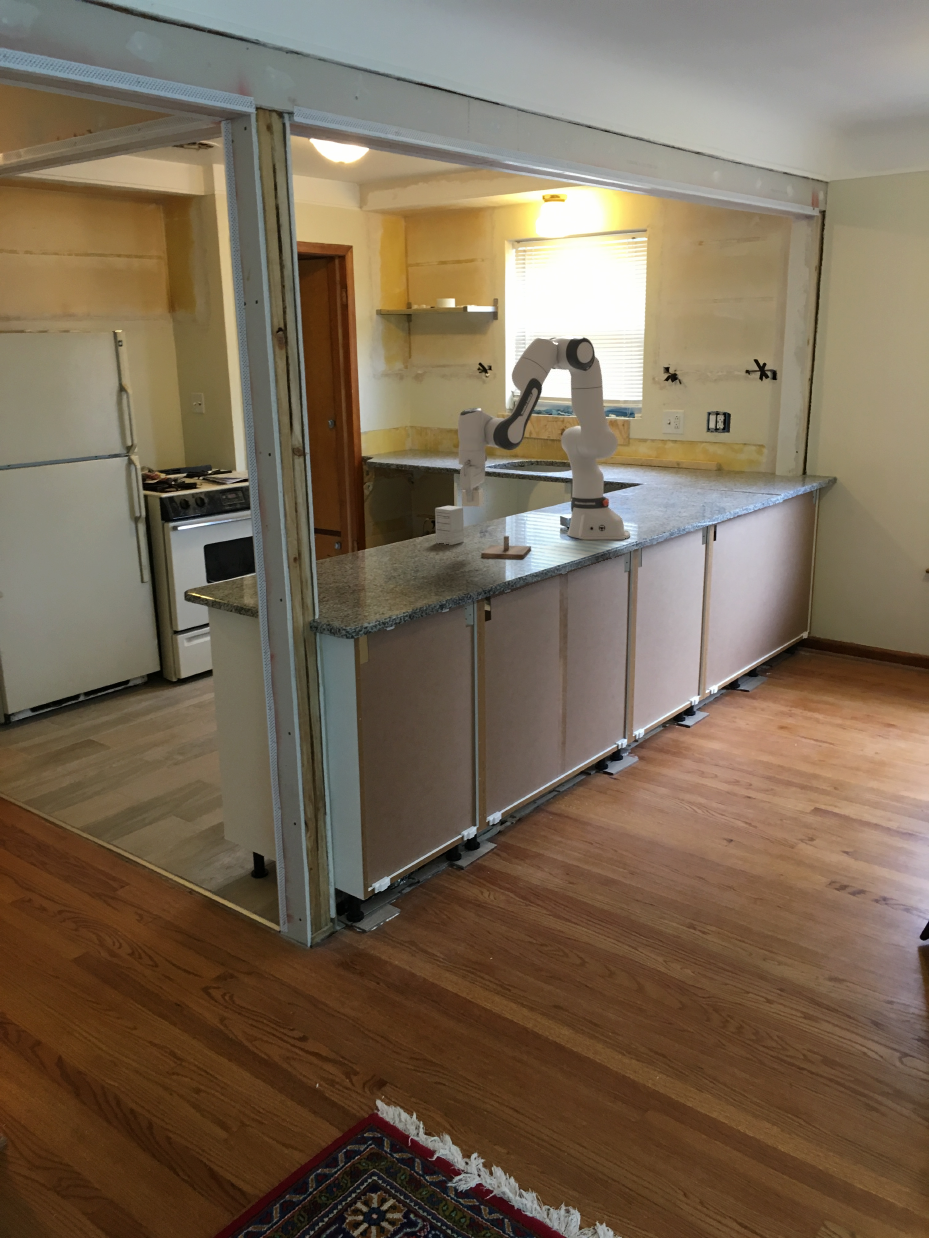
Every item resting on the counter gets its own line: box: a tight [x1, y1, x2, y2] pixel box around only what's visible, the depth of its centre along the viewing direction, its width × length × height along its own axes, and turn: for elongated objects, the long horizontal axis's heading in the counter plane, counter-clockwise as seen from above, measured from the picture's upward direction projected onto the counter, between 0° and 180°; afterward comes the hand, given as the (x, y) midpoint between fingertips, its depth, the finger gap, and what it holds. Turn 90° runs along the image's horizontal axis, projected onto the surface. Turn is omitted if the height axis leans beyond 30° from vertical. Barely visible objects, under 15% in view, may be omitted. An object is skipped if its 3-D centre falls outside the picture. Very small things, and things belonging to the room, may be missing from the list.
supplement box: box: [434, 505, 465, 546], centre depth 352 cm, size 7×7×13 cm
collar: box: [461, 488, 485, 507], centre depth 333 cm, size 6×6×5 cm
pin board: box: [480, 535, 532, 560], centre depth 332 cm, size 14×14×6 cm
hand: (472, 500), depth 333 cm, fingers closed on collar, 6 cm apart
